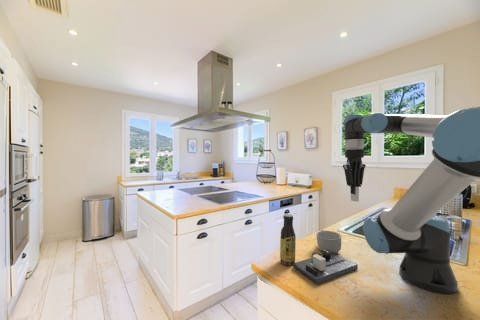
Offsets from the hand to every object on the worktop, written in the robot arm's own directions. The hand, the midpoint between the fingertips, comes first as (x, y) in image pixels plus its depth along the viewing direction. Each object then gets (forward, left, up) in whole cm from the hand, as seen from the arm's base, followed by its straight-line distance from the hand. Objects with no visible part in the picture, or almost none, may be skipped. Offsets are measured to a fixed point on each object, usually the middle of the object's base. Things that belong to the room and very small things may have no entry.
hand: (354, 200), depth 91 cm
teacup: (+9, +7, -25) cm, 27 cm away
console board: (-2, +22, -24) cm, 33 cm away
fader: (-4, +27, -22) cm, 35 cm away
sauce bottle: (+8, +32, -25) cm, 41 cm away
